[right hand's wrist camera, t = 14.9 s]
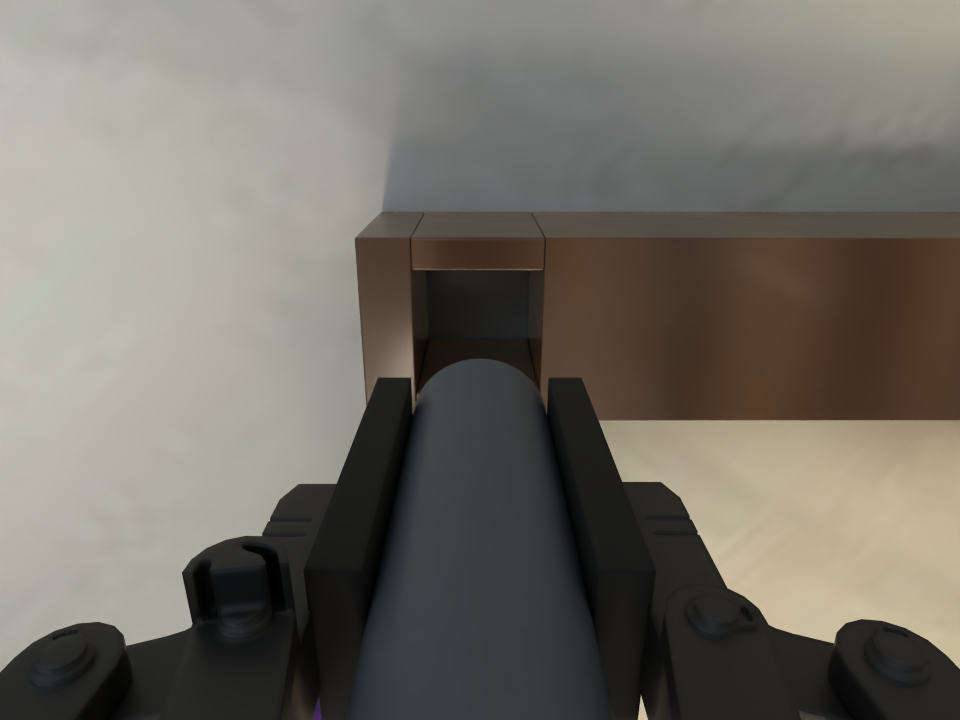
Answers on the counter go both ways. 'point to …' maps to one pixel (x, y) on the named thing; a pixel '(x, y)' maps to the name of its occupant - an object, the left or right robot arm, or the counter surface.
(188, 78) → the counter surface
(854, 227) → the peg board
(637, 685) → the right robot arm
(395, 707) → the peg
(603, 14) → the counter surface
